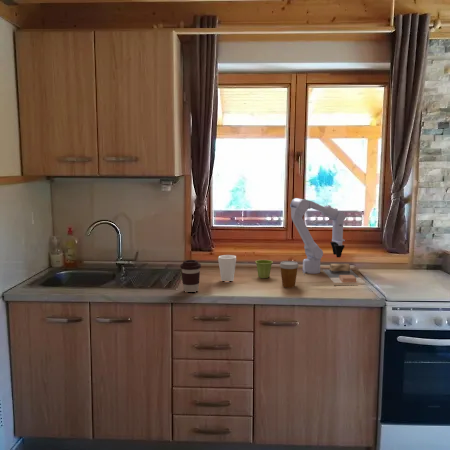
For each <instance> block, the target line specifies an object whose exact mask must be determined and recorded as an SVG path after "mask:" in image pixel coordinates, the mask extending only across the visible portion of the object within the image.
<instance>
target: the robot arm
mask: <svg viewBox="0 0 450 450" xmlns="http://www.w3.org/2000/svg"><path fill="white" fill-rule="evenodd" d="M289 207H290V216H291V217H290V218H291V221H292V223H293V224H294V226H295V229H296V231H297V233H298V234H299V236H300V238H301V240H302V241H303V244H304V246H303V248H304V253H305V255H306V258H304V259H302V274H303V275H305V274H315V275H316V274H320V273H321V260H322V258H323V256H324V251H323V249H322V248H320V247H319V245H318V244H317V243H316V242H315V241H314V238H313V237H312V234H311V233H310V230H309V229H308V226H307V225H306V221H304V219H303V217H304V215H305V213H306V212H307V211H308V210H310V209H312V210H315V211H317V212H320V213H321V215H322V216H324V217H327V218H329V219H331V220H332V233H331V234H332V235H331V236H332V238H331V241H330V245H331V249H332V254H333V255H336V258H341V257H342V253H343V250H344V248H345V245H344V244H343V242H346V240H345V239H344V222H345V220H346V218H347V216H346V215H345V214H346V213H344V211H343V210H342V211H341V210H338V208H336V207H335V208H334V207H332V205H324V206H323V205H321V204H319V203H316V202H315V201H313V200H308V199H305V198H303V199H302V198H299V197H294V198H293V199H292V200H291V201H290V204H289Z"/></svg>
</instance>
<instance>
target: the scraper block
mask: <svg viewBox="0 0 450 450" xmlns="http://www.w3.org/2000/svg"><path fill="white" fill-rule="evenodd" d="M350 269H351V265H350V264H349V263H329V270H330V272H331V274H332V273H350Z"/></svg>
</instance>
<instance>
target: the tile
mask: <svg viewBox="0 0 450 450" xmlns="http://www.w3.org/2000/svg"><path fill="white" fill-rule="evenodd" d="M339 279H340V280H341V281H342V282H356V278H355V277H354V276H353V275H339Z"/></svg>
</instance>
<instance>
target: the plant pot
mask: <svg viewBox="0 0 450 450" xmlns="http://www.w3.org/2000/svg"><path fill="white" fill-rule="evenodd" d="M255 263H256V268H257V270H256V271H257V276H258V278H259V277H260V279H269V278H270V276H271V269H272V265H273V263H274V262H273V260H269V259H258V260H255ZM268 277H269V278H268Z"/></svg>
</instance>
